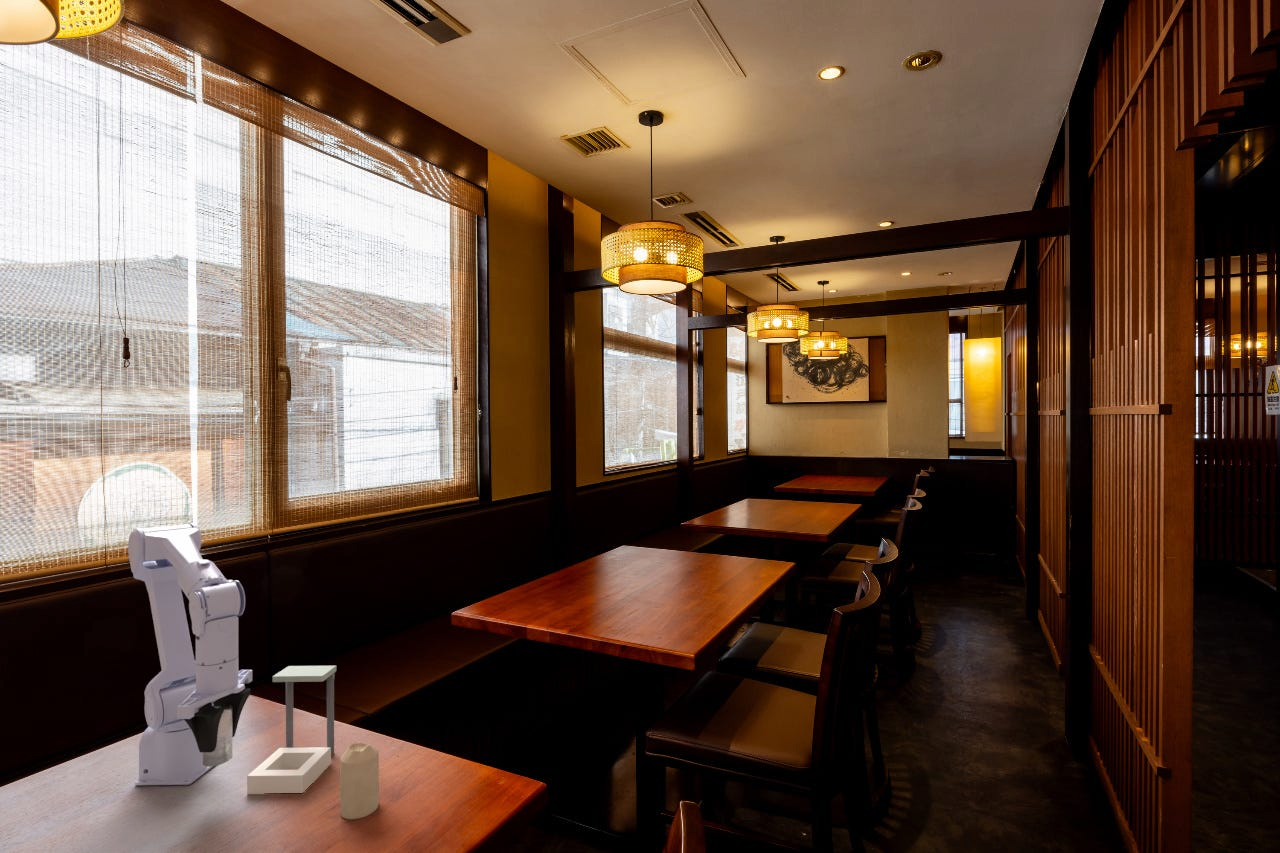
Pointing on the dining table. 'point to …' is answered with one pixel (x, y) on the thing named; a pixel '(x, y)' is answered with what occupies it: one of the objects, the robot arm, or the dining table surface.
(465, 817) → the dining table surface
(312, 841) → the dining table surface
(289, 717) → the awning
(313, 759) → the socket block
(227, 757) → the peg
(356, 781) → the candle
